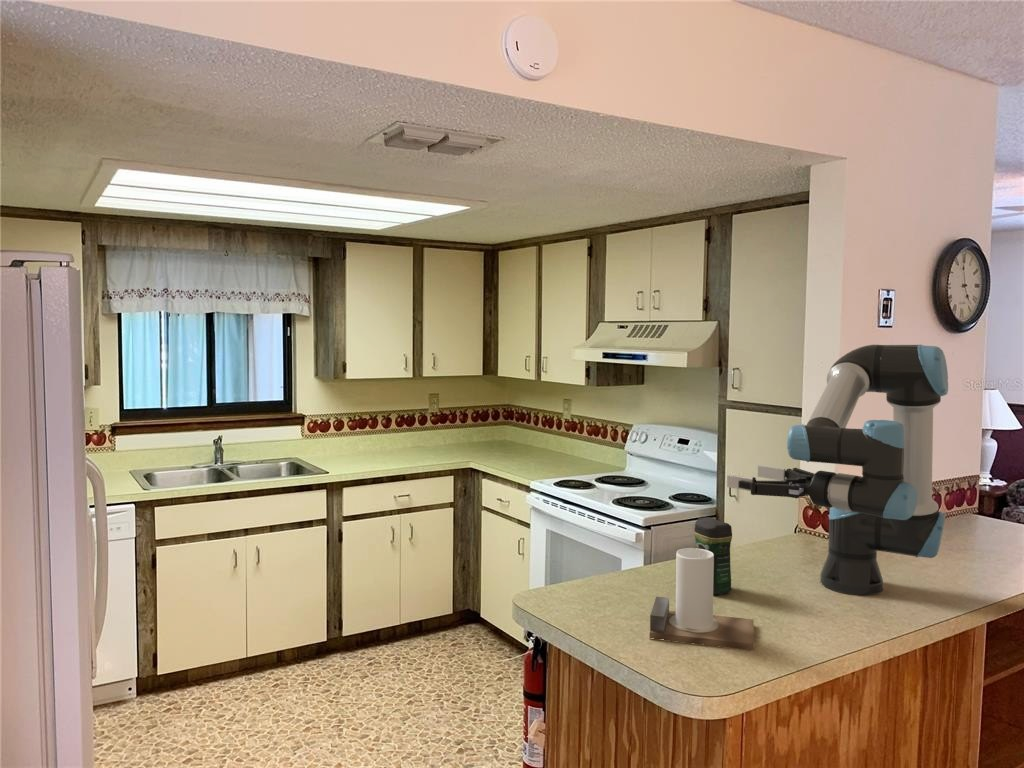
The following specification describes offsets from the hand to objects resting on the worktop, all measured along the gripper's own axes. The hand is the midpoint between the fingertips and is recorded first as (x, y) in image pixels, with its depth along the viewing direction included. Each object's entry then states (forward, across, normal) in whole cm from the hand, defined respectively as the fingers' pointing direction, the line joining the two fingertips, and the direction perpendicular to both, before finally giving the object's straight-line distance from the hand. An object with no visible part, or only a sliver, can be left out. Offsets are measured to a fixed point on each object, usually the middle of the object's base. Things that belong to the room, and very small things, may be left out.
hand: (743, 475), depth 178 cm
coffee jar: (+15, +12, -35) cm, 40 cm away
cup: (+4, -14, -32) cm, 35 cm away
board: (+2, -14, -34) cm, 37 cm away
